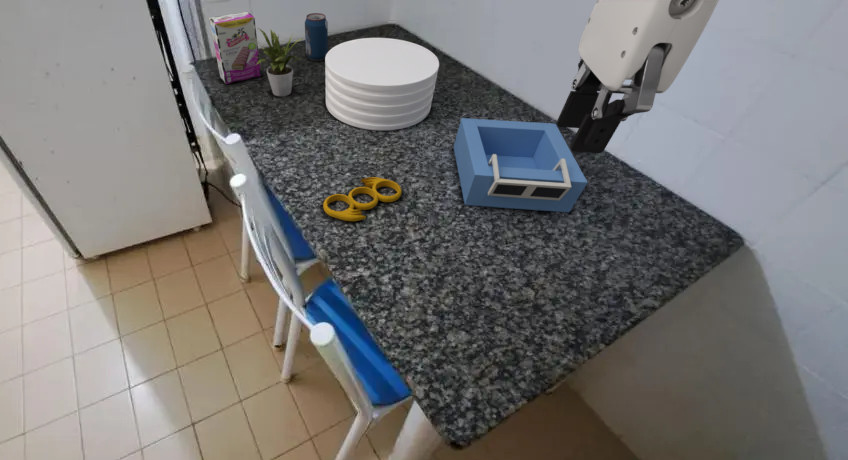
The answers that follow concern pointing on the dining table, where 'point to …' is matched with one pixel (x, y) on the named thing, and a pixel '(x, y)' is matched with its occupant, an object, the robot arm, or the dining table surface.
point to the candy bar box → (235, 46)
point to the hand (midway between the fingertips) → (578, 136)
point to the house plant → (278, 65)
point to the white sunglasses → (529, 185)
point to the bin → (514, 162)
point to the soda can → (316, 36)
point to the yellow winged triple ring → (357, 214)
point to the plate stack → (380, 83)
